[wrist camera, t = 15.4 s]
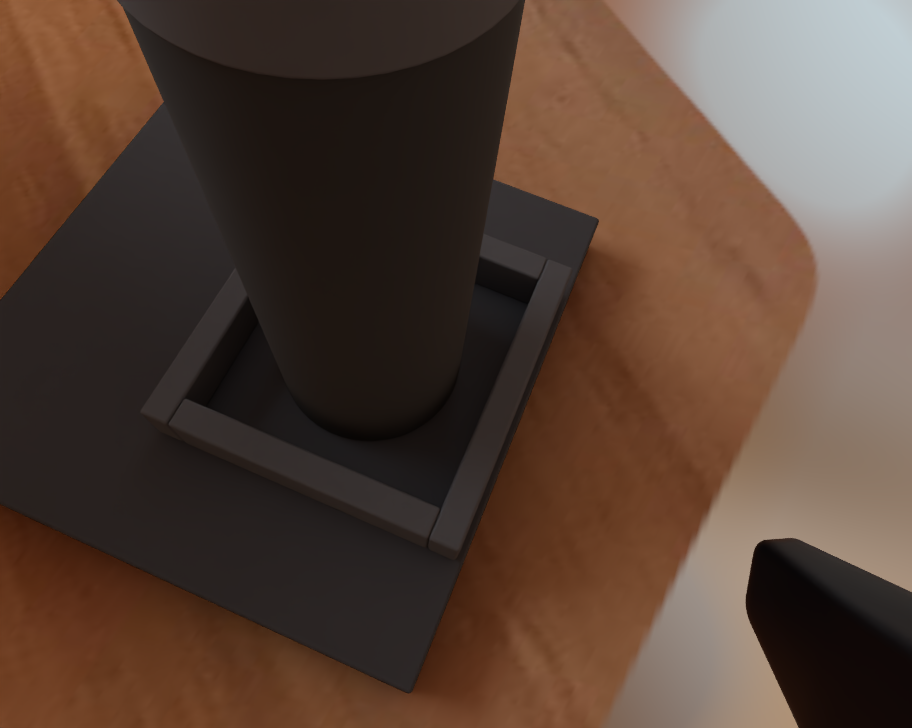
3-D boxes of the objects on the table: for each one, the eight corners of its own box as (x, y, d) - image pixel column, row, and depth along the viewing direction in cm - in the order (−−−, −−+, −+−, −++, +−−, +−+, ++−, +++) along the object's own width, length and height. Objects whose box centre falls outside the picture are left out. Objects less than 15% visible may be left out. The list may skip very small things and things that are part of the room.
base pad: (588, 244, 23) (613, 188, 20) (410, 692, 17) (411, 698, 14) (204, 98, 25) (178, 28, 22) (-85, 462, 19) (-169, 428, 16)
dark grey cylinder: (470, 439, 18) (599, -16, 6) (277, 450, 18) (-10, -21, 6) (456, 276, 20) (529, -307, 8) (282, 282, 20) (83, -330, 8)
